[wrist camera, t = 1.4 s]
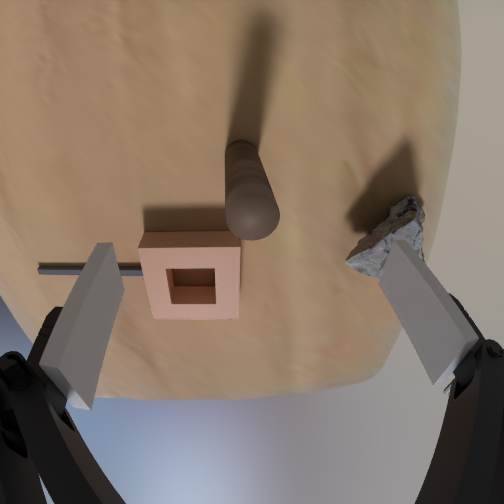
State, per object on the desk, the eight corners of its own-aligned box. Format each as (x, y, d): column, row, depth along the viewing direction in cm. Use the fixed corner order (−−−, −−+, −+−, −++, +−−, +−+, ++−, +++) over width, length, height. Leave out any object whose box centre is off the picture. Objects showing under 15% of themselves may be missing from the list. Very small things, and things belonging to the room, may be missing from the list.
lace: (39, 266, 31) (37, 269, 30) (150, 267, 32) (149, 270, 32) (41, 271, 31) (39, 274, 31) (151, 272, 33) (150, 275, 32)
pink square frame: (144, 232, 30) (137, 248, 27) (238, 230, 31) (240, 247, 28) (157, 301, 35) (153, 318, 33) (237, 300, 36) (238, 318, 34)
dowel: (225, 140, 25) (225, 192, 15) (258, 140, 26) (282, 193, 16) (224, 170, 27) (225, 240, 17) (256, 171, 27) (277, 240, 17)
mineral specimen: (377, 220, 37) (357, 172, 30) (434, 225, 32) (428, 174, 25) (360, 287, 35) (335, 250, 28) (422, 298, 30) (417, 262, 22)
